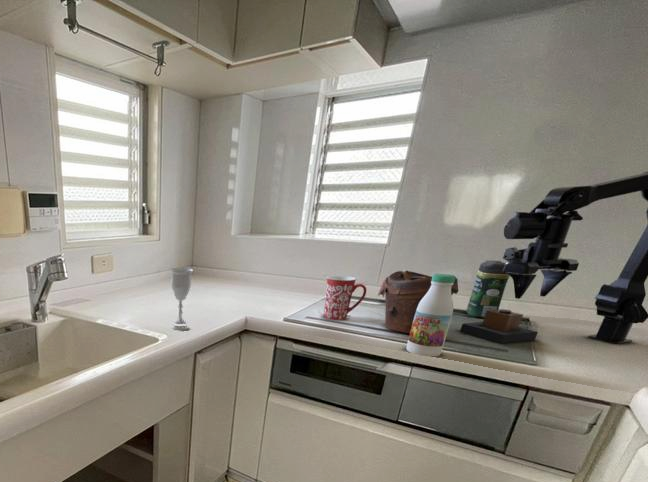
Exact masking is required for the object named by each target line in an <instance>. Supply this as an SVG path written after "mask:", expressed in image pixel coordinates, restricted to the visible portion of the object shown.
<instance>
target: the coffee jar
mask: <svg viewBox="0 0 648 482" xmlns="http://www.w3.org/2000/svg"><path fill="white" fill-rule="evenodd" d="M506 263H507V262H503V261H501V260H485V261H483V262H481V263H480V265H479V268H478V270H477V274H476V277H475V281H474V284H473V288H472V291H471V294H470V297H469V301H468V303H467V307H466V313H467V314H468V316H471V317H473V318H474V317H475V318H479V319H484V317H485V314H486V311H487V310H499V309H500V305H501V303H502V300H503V295H504V293H505V290H506V286H507V283H508V280H509V278H510V277H511V276H510V275H507V274H506V272H505V271H503V269H504V266H505V264H506Z"/></svg>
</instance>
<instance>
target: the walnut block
mask: <svg viewBox="0 0 648 482" xmlns="http://www.w3.org/2000/svg"><path fill="white" fill-rule="evenodd" d="M523 316H524V314H522V313H518V312H514V311H512V310H510V309H503V308H501V309H500V308H499V309H498V310H487V311H486V314H485V317H484V318H483V320H482V322H483V323H482V327H486V328H489V329H493V330H497V331H501V332H507V331H517V330H518V328H519V327H520V325H521V321H522V320H523V318H524V317H523Z"/></svg>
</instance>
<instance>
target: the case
mask: <svg viewBox="0 0 648 482" xmlns="http://www.w3.org/2000/svg"><path fill="white" fill-rule="evenodd" d="M448 274H449V273H448ZM449 275H451V274H449ZM454 276H455V281H454V282H453V285H452V287H451V295H452V296H453V294H455V295H456V294H458V293H459V283H458V282H459V280H458V278H457V276H456V275H454ZM431 281H432V276H431V275H427V274H423V273H420V272H415V271H409V270H407V269H404V270H397V271H394V272H392V273H390V274H389V275H388V276H386V277H385V279H384V280H383V281H382V284H381V287H380V289H379V292H378V294H377V296H380V295H381V296H382V298H385V299H384V300H385V301H384V302H385V304H384V305H385V308H384V309H385V310H384V311H385V313H384V314H385V318H384V319H385V321H384V324H385V327H386V328H387V329H389V330H391V331H395V332H398V333H403V334H409V335H410V331H411V328H412V324H413V320H414V317H415V313H416V310H417V307H418V305H419V303H420V301H421V300H422V298H423V297H424V296H425V295H426V294H427V292H428V291H429V289H430V287H431V284H432V283H431Z"/></svg>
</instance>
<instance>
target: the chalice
mask: <svg viewBox="0 0 648 482" xmlns="http://www.w3.org/2000/svg"><path fill="white" fill-rule="evenodd" d="M169 271H170V273H171V286H170V287H171V289H172V292H173V294H174V297H175V299H176V300H177V301H178V306H177V308H178V311H177V314H178V318H177V319H175V320H174V322H173V324H174V323H176V324H187V322H186V320H185V319H183V317H182V316H183V314H184V312H183V307H184V306H183V301H185V300H186V299H187V296H188V295H189V292H190V290H191V286H192V273H193V272H194V269H192V268H187V267H174V268H170V269H169ZM173 324H172V327H171V328H172V329H173V330H178V331H179V330H180V331H181V330H183V331H184V330H187V329H188V328H189V327H188V324H187V325H186V326H175V325H173Z"/></svg>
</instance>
